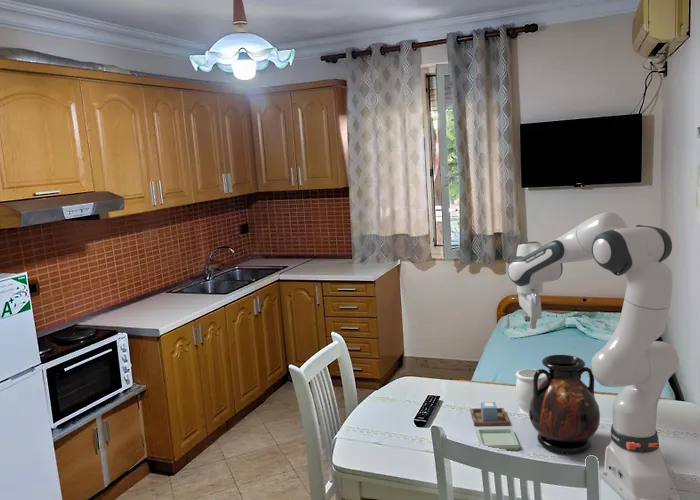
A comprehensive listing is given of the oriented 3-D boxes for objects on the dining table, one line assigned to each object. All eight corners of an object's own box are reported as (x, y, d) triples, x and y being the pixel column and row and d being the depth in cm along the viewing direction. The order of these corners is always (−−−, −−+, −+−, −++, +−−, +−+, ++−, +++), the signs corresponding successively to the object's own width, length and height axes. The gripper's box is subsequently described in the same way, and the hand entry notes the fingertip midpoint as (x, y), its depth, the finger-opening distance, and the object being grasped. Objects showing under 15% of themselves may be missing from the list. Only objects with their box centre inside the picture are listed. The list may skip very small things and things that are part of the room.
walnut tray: (509, 427, 202) (509, 422, 202) (474, 427, 203) (474, 422, 203) (503, 412, 214) (503, 407, 214) (470, 413, 215) (470, 408, 215)
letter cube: (497, 421, 206) (497, 407, 205) (483, 421, 206) (482, 407, 205) (495, 415, 211) (494, 401, 210) (481, 415, 211) (480, 401, 210)
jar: (543, 406, 217) (542, 368, 215) (549, 418, 207) (549, 378, 205) (514, 407, 218) (513, 368, 216) (519, 418, 208) (518, 378, 206)
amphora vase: (585, 427, 199) (584, 348, 195) (611, 458, 177) (612, 370, 173) (521, 430, 199) (520, 351, 195) (540, 461, 178) (539, 374, 174)
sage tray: (519, 450, 186) (519, 444, 185) (481, 450, 187) (480, 445, 187) (512, 433, 198) (511, 428, 197) (476, 433, 199) (476, 428, 198)
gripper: (546, 292, 195) (546, 332, 197) (532, 280, 215) (532, 317, 217) (526, 293, 196) (527, 333, 198) (514, 281, 216) (515, 317, 218)
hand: (530, 324), depth 208 cm, fingers open, 8 cm apart
